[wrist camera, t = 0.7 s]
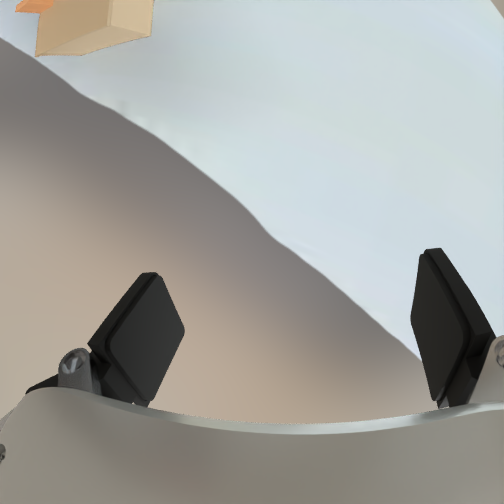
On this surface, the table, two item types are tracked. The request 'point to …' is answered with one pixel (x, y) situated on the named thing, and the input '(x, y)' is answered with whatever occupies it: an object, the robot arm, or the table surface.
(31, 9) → the flap
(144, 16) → the carton
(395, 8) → the table surface
